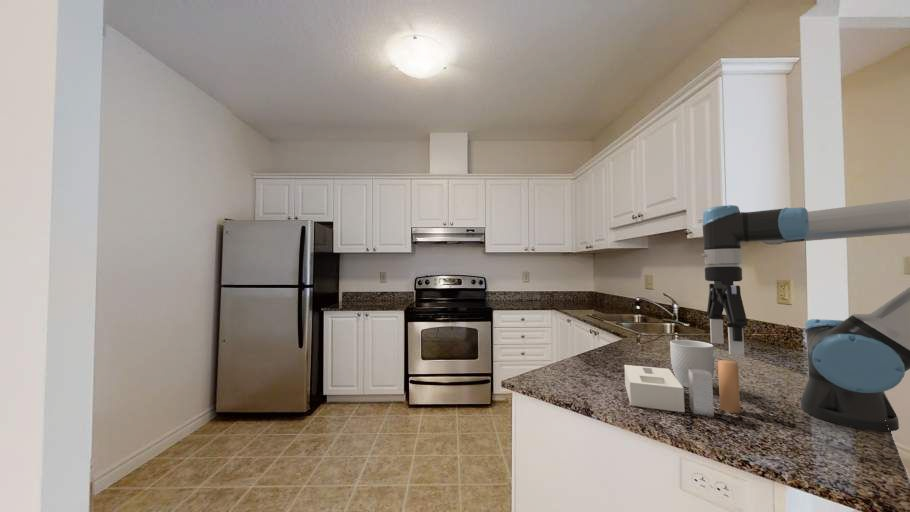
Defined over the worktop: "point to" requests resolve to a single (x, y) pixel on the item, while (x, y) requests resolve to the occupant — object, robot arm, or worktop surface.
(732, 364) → the dowel
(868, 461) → the worktop surface
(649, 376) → the socket block
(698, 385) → the square bit
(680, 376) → the mug
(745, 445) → the worktop surface
